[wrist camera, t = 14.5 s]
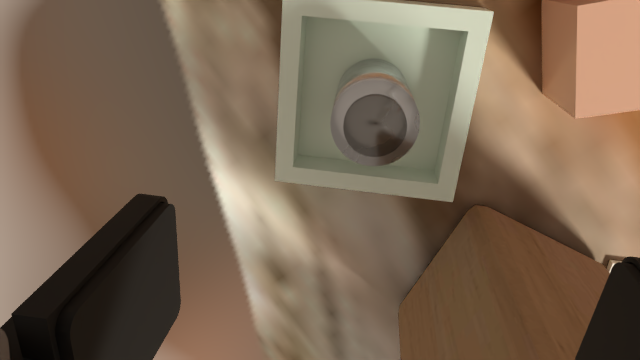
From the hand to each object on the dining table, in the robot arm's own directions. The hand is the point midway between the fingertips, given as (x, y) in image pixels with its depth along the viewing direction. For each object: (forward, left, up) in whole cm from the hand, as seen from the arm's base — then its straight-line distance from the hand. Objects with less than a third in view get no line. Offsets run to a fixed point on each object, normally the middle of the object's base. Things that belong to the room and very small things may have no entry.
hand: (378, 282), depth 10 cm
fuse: (0, 0, -18) cm, 18 cm away
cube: (-4, +11, -19) cm, 22 cm away
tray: (0, 0, -19) cm, 19 cm away
